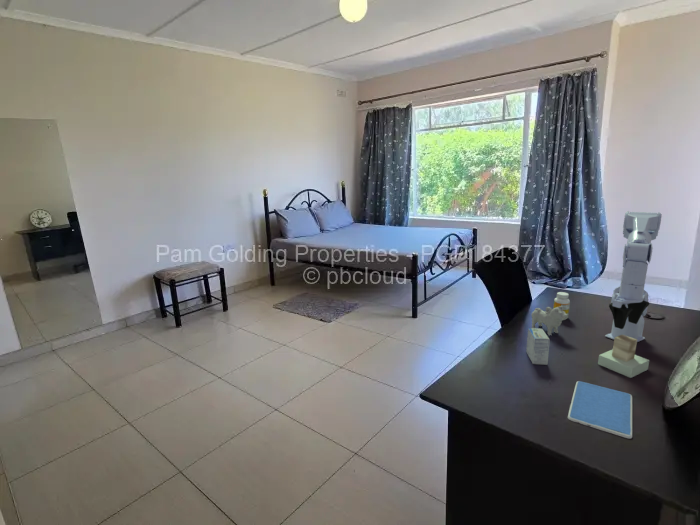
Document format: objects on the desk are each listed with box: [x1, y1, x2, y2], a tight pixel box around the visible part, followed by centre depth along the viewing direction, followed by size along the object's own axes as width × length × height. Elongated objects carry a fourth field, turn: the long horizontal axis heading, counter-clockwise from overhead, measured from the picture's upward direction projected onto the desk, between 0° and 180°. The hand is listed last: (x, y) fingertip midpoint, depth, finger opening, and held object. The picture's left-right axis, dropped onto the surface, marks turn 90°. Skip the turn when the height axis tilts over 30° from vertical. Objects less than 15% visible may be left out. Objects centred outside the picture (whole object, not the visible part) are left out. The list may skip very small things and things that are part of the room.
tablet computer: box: [567, 380, 633, 439], centre depth 94 cm, size 19×13×1 cm, turn 144°
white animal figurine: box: [531, 306, 569, 336], centre depth 135 cm, size 5×13×11 cm, turn 28°
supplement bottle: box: [552, 291, 571, 315], centre depth 148 cm, size 5×5×10 cm
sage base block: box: [597, 348, 650, 379], centre depth 111 cm, size 9×9×3 cm
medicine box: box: [525, 327, 551, 366], centre depth 117 cm, size 8×4×9 cm, turn 168°
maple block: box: [612, 335, 638, 362], centre depth 110 cm, size 4×4×6 cm
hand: (625, 325), depth 115 cm, fingers open, 7 cm apart
